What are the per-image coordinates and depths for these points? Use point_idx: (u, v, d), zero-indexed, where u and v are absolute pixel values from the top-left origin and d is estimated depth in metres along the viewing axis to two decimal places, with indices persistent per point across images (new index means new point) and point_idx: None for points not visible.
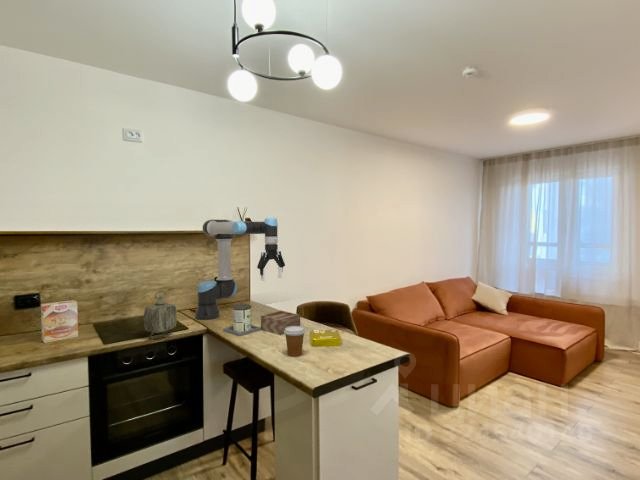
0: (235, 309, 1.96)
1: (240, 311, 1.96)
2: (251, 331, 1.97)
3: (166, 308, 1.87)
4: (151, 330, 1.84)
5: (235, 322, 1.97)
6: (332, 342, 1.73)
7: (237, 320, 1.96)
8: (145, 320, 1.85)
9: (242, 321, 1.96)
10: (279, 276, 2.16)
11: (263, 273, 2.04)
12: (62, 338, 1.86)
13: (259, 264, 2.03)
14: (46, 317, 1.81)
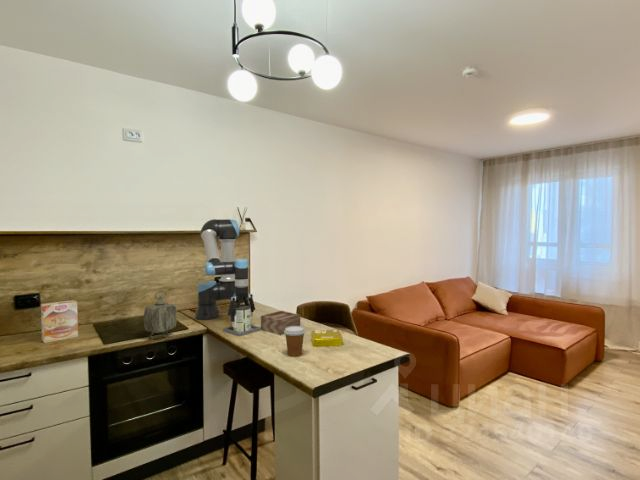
0: None
1: (240, 311, 1.96)
2: (251, 331, 1.97)
3: (166, 308, 1.87)
4: (151, 330, 1.84)
5: None
6: (334, 342, 1.73)
7: (237, 320, 1.96)
8: (145, 320, 1.85)
9: (242, 321, 1.96)
10: None
11: (234, 320, 1.96)
12: (62, 338, 1.86)
13: (229, 310, 1.94)
14: (46, 317, 1.81)
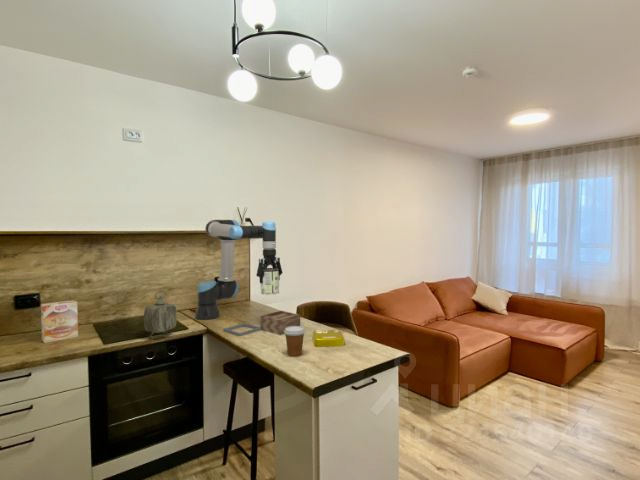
0: None
1: (268, 273, 1.96)
2: (251, 331, 1.97)
3: (166, 308, 1.87)
4: (151, 330, 1.84)
5: None
6: (335, 342, 1.73)
7: (265, 281, 1.97)
8: (145, 320, 1.85)
9: (271, 282, 1.97)
10: None
11: (263, 281, 1.97)
12: (62, 338, 1.86)
13: (258, 272, 1.95)
14: (46, 317, 1.81)
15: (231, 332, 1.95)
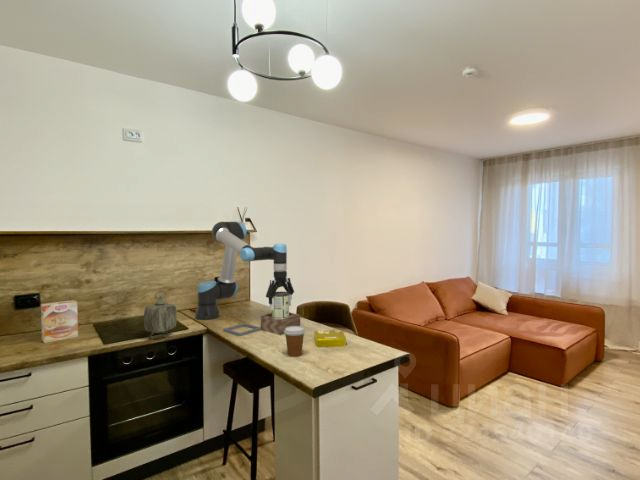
0: (274, 295, 1.98)
1: (279, 297, 1.98)
2: (251, 331, 1.97)
3: (166, 308, 1.87)
4: (151, 330, 1.84)
5: (274, 308, 1.99)
6: (337, 343, 1.73)
7: (276, 306, 1.98)
8: (145, 320, 1.85)
9: (281, 307, 1.98)
10: None
11: (272, 302, 1.97)
12: (62, 338, 1.86)
13: (268, 293, 1.96)
14: (46, 317, 1.81)
15: (231, 332, 1.95)
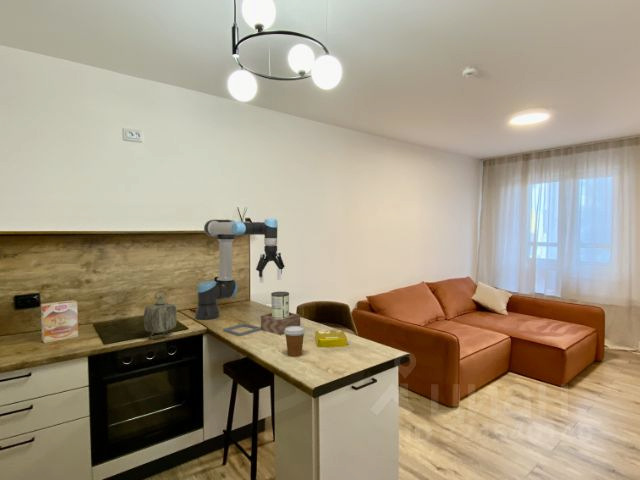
0: (274, 295, 1.98)
1: (279, 297, 1.98)
2: (251, 331, 1.97)
3: (166, 308, 1.87)
4: (151, 330, 1.84)
5: (274, 308, 1.99)
6: (338, 343, 1.73)
7: (276, 306, 1.98)
8: (145, 320, 1.85)
9: (281, 307, 1.98)
10: (278, 278, 2.13)
11: (262, 275, 2.01)
12: (62, 338, 1.86)
13: (258, 266, 2.00)
14: (46, 317, 1.81)
15: (231, 332, 1.95)
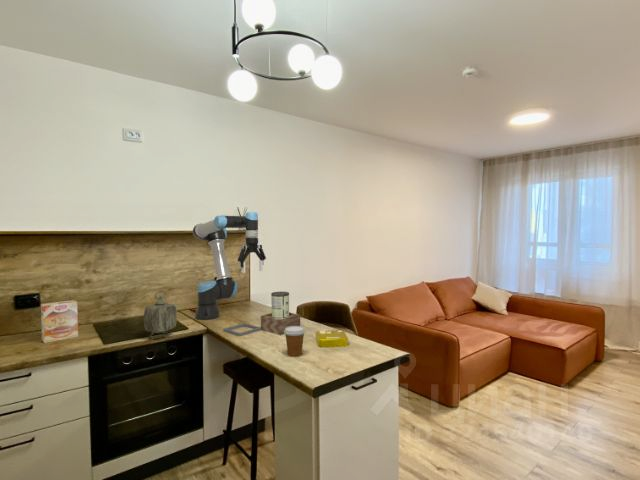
0: (274, 295, 1.98)
1: (279, 297, 1.98)
2: (251, 331, 1.97)
3: (166, 308, 1.87)
4: (151, 330, 1.84)
5: (274, 308, 1.99)
6: (339, 343, 1.72)
7: (276, 306, 1.98)
8: (145, 320, 1.85)
9: (281, 307, 1.98)
10: (260, 269, 2.22)
11: (243, 265, 2.11)
12: (62, 338, 1.86)
13: (239, 257, 2.10)
14: (46, 317, 1.81)
15: (231, 332, 1.95)
